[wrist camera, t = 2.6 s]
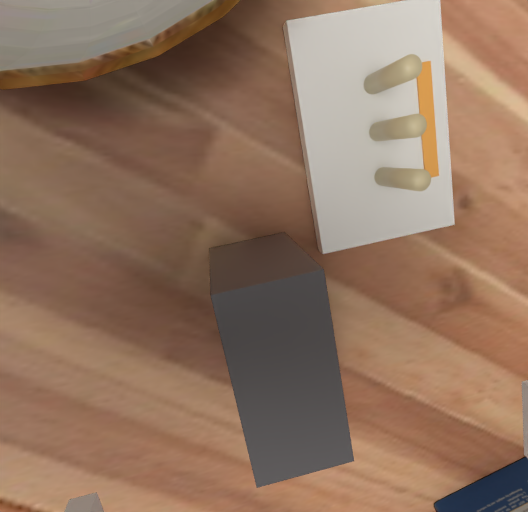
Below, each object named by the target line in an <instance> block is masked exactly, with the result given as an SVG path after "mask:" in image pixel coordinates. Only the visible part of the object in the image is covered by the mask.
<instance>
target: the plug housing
mask: <svg viewBox="0 0 528 512" xmlns="http://www.w3.org/2000/svg"><path fill="white" fill-rule="evenodd" d="M209 263H210V294H211V299H212V303H213V308H214V312H215V316H216V320H217V324H218V328H219V333H220V337H221V341H222V345H223V349H224V353H225V357H226V362H227V366H228V370H229V374H230V378H231V382H232V387H233V391H234V395H235V399H236V403H237V407H238V411H239V416H240V420H241V424H242V428H243V432H244V436H245V441H246V445H247V449H248V453H249V457H250V461H251V465H252V470H253V474H254V478H255V482H256V486H257V488H258V487H261V486H265V485H269V484H272V483H276V482H280V481H283V480H287V479H291V478H294V477H298V476H302V475H305V474H309V473H312V472H316V471H320V470H323V469H327V468H331V467H334V466H338V465H342V464H345V463H349V462H352V461H354V457H353V451H352V445H351V438H350V432H349V426H348V419H347V413H346V407H345V400H344V394H343V388H342V381H341V375H340V369H339V362H338V356H337V350H336V343H335V337H334V331H333V324H332V318H331V312H330V305H329V299H328V292H327V286H326V280H325V273H324V269H323V268H322V267H321V266H320V265H319V264H318V263H317V262H315V261H314V260H313V259H312V258H311V257H310V256H309V255H308V254H307V253H306V252H305V251H304V250H303V249H302V248H301V247H300V246H298V245H297V244H296V243H295V242H294V241H293V240H292V239H291V238H290V237H289V236H288V235H287V234H286V233H285V232H283V233H278V234H274V235H269V236H264V237H260V238H255V239H251V240H246V241H242V242H237V243H232V244H228V245H223V246H219V247H214V248H209Z"/></svg>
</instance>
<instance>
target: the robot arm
mask: <svg viewBox="0 0 528 512" xmlns="http://www.w3.org/2000/svg"><path fill="white" fill-rule="evenodd" d="M522 403H523V435H524V455H525V456H526V457H527V458H528V380H527V381H523V382H522ZM64 512H104V511H103V508H102V505H101V503H100V500H99V497H98V494H97V492H96V493H92V494H88V495H85V496H81V497H77V498H73V499H69V502H68V504H67V507H66V509H65V511H64Z"/></svg>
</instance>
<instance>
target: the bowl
mask: <svg viewBox="0 0 528 512" xmlns="http://www.w3.org/2000/svg"><path fill="white" fill-rule="evenodd" d="M239 1H240V0H0V89H2V90H5V89H14V88H23V87H32V86H41V85H50V84H59V83H68V82H77V81H85V80H88V79H91V78H94V77H97V76H100V75H103V74H106V73H109V72H112V71H115V70H118V69H121V68H124V67H127V66H130V65H133V64H136V63H139V62H142V61H145V60H148V59H151V58H154V57H157V56H159V55H161V54H162V53H164V52H166V51H167V50H169V49H171V48H172V47H174V46H176V45H177V44H179V43H181V42H182V41H184V40H186V39H187V38H189V37H191V36H192V35H194V34H196V33H197V32H199V31H200V30H202V29H204V28H205V27H207V26H209V25H210V24H212V23H214V22H215V21H217V20H219V19H220V18H222V17H224V16H225V15H226V14H227V13H228V12H229V11H230V10H231V9H232V8H233V7H234V6H235V5H236V4H237V3H238V2H239Z"/></svg>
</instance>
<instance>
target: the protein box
mask: <svg viewBox="0 0 528 512" xmlns="http://www.w3.org/2000/svg"><path fill="white" fill-rule="evenodd" d="M434 507H435V510H436V512H528V458H527V457H524V458H523V459H521V460H519V461H517V462H515V463H513V464H511V465H509V466H507V467H505V468H503V469H501V470H499V471H497V472H495V473H493V474H491V475H489V476H487V477H485V478H483V479H481V480H479V481H477V482H475V483H473V484H471V485H469V486H467V487H465V488H463V489H461V490H459V491H457V492H455V493H453V494H451V495H449V496H447V497H445V498H443V499H441V500H439V501H437V502H436V503H435V504H434Z"/></svg>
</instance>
